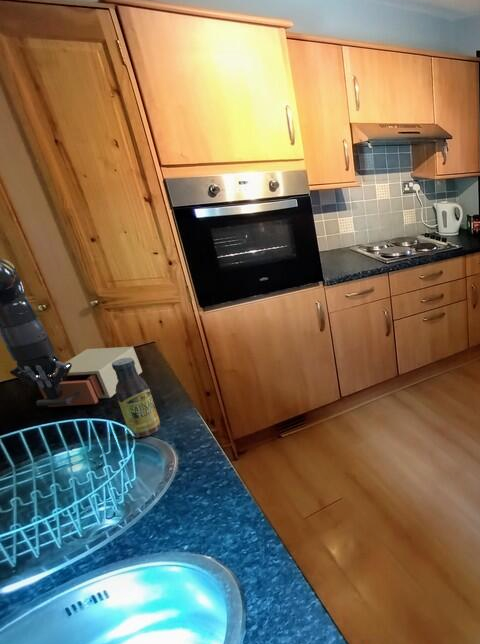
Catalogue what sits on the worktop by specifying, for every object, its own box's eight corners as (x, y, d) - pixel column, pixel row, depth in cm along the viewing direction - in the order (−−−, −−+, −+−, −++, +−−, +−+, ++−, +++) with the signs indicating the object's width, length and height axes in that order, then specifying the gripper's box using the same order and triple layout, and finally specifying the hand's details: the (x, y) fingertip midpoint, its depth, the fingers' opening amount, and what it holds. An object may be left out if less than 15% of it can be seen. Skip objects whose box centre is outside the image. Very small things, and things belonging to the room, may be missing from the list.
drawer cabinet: (110, 397, 127) (98, 370, 124) (59, 401, 126) (46, 373, 122) (142, 371, 140) (133, 346, 137) (97, 374, 139) (86, 348, 135)
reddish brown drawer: (81, 414, 118) (71, 392, 115) (32, 418, 117) (21, 395, 114) (128, 378, 135) (120, 358, 132) (85, 380, 134) (76, 360, 131)
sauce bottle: (142, 441, 110) (113, 370, 102) (125, 436, 111) (95, 366, 104) (169, 426, 115) (143, 358, 107) (152, 421, 117) (126, 353, 109)
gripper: (-19, 347, 106) (15, 408, 113) (43, 343, 108) (73, 403, 115) (9, 333, 113) (39, 391, 120) (67, 329, 114) (94, 387, 122)
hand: (56, 397), depth 117 cm, fingers closed
